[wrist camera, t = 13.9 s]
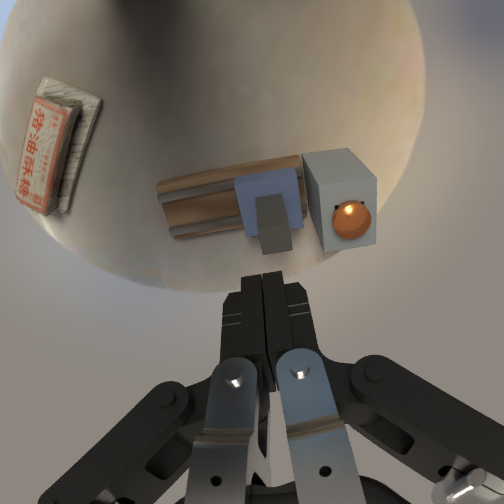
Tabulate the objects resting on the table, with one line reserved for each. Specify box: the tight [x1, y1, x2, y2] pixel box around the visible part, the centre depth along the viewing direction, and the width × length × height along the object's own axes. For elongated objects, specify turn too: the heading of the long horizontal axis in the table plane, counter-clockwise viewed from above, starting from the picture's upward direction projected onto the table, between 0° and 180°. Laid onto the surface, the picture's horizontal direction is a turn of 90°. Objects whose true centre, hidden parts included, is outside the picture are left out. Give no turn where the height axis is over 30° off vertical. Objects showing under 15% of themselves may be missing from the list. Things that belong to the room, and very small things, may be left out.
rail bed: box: [156, 155, 307, 239], centre depth 40 cm, size 8×18×2 cm, turn 101°
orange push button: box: [332, 200, 371, 239], centre depth 33 cm, size 4×4×6 cm
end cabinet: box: [302, 148, 377, 253], centre depth 36 cm, size 8×6×10 cm
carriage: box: [234, 167, 304, 255], centre depth 35 cm, size 7×7×9 cm
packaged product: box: [15, 77, 102, 216], centre depth 34 cm, size 18×5×10 cm
